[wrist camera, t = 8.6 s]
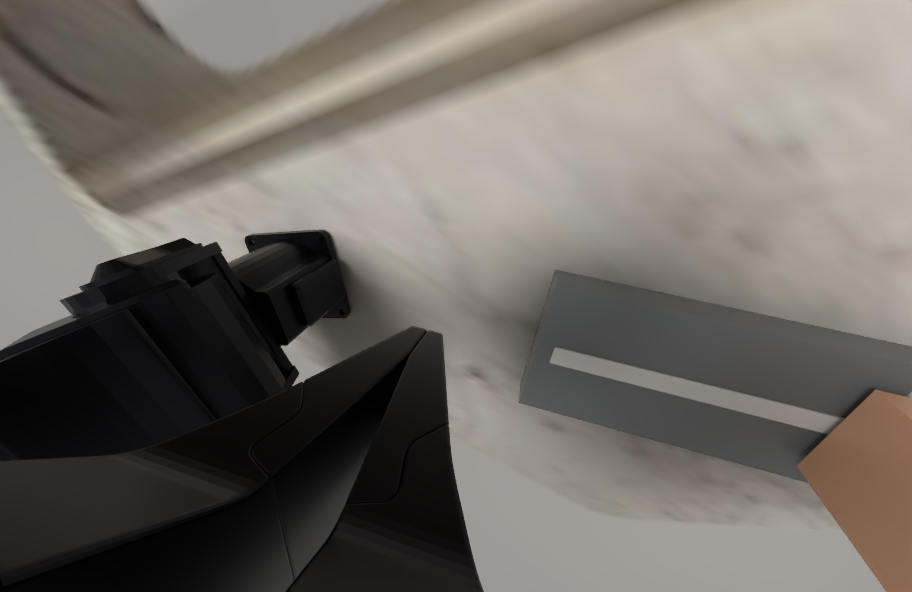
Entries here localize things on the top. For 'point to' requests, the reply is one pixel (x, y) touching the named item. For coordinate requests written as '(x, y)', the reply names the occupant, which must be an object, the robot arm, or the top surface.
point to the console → (702, 372)
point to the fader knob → (871, 484)
